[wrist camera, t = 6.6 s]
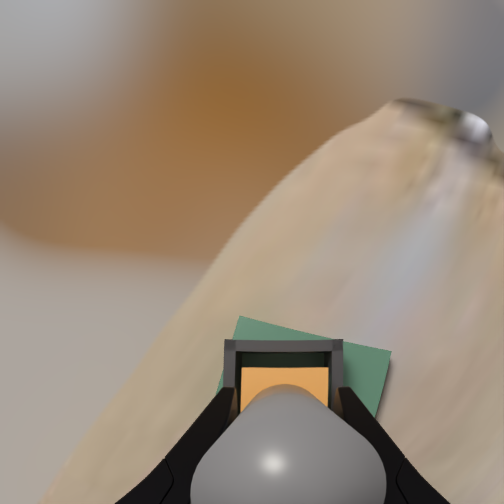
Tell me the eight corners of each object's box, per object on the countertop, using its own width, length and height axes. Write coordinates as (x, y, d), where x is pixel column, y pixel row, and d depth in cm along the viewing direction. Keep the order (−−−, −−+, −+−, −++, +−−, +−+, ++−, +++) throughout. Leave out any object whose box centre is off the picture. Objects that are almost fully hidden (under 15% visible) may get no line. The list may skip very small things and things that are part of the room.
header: (330, 453, 16) (339, 467, 13) (229, 453, 16) (221, 467, 13) (333, 343, 18) (343, 339, 15) (232, 343, 19) (224, 339, 16)
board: (292, 586, 12) (293, 595, 11) (169, 555, 14) (163, 564, 13) (384, 352, 19) (391, 351, 18) (242, 319, 21) (239, 315, 19)
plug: (314, 446, 14) (374, 578, 3) (248, 446, 14) (186, 578, 3) (316, 367, 16) (402, 367, 4) (250, 367, 16) (183, 369, 5)
